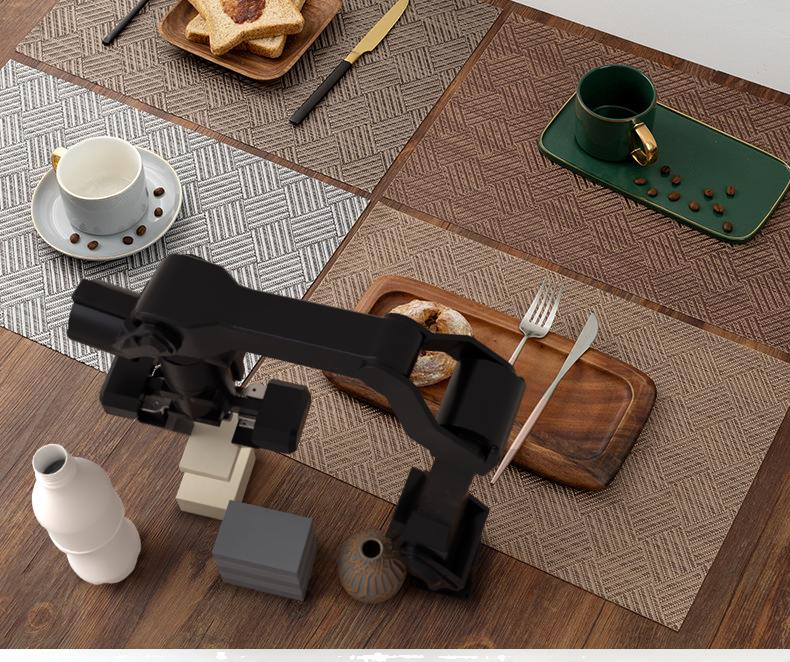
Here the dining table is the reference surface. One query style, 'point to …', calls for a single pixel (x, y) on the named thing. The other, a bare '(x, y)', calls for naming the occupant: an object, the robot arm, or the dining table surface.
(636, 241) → the dining table surface
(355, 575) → the vase
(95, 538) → the water bottle
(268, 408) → the robot arm
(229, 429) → the beige flat block
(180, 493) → the beige rectangular block
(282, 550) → the grey stack
